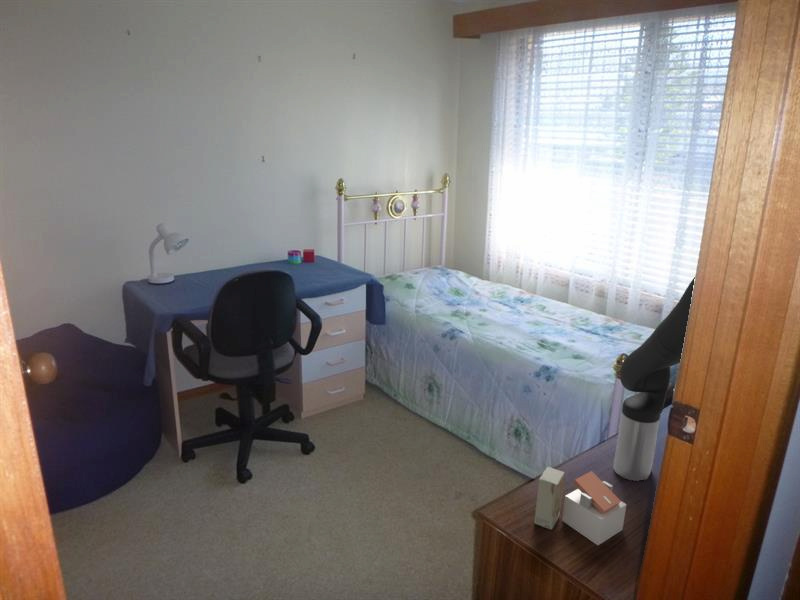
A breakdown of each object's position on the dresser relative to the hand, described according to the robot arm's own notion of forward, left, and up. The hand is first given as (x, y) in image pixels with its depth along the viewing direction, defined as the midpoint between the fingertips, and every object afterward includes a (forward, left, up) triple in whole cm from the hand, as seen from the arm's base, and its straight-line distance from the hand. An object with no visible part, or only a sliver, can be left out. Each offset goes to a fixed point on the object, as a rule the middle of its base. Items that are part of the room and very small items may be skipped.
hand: (667, 494), depth 120 cm
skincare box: (+7, -23, -19) cm, 31 cm away
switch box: (0, -16, -18) cm, 24 cm away
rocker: (0, -16, -11) cm, 20 cm away
